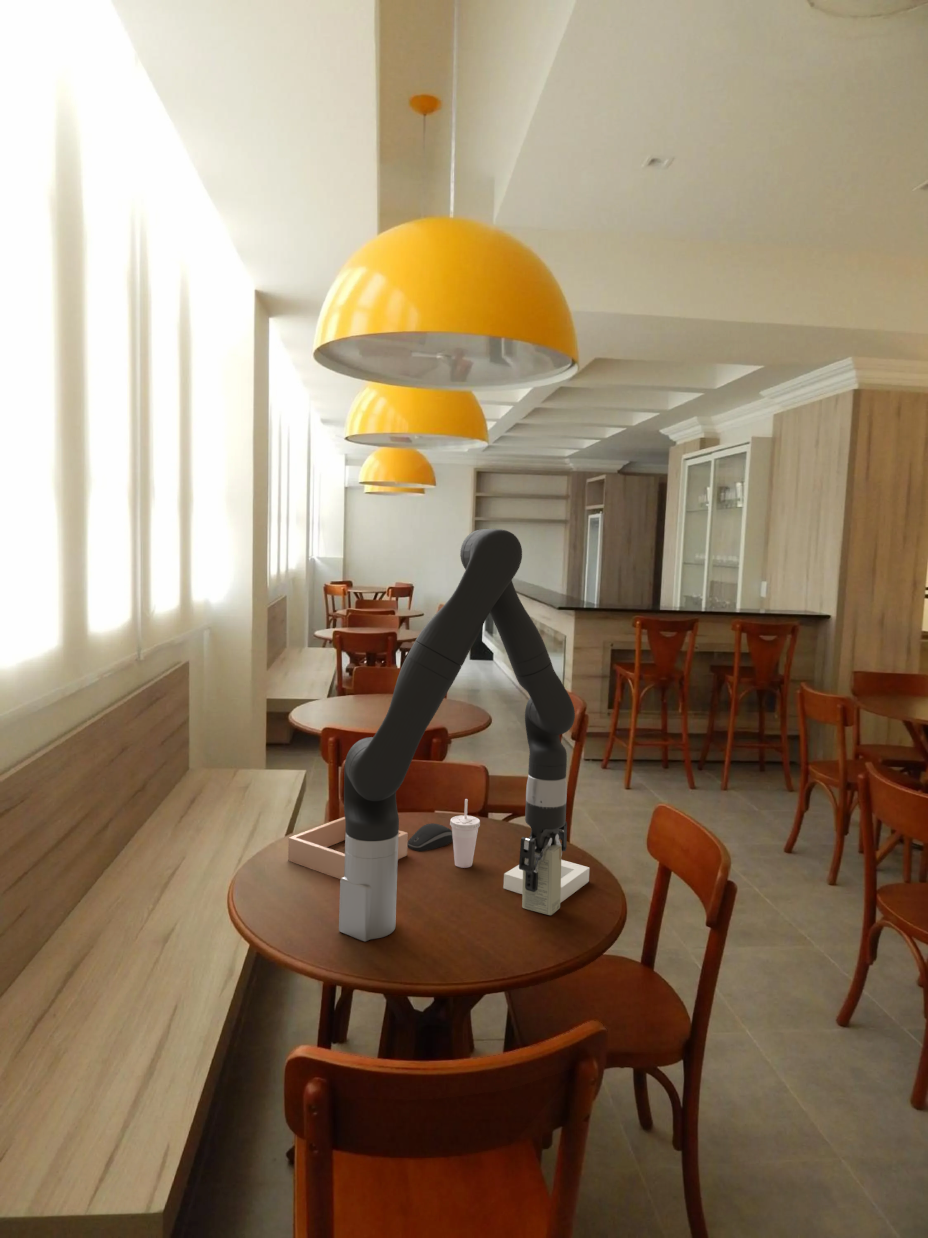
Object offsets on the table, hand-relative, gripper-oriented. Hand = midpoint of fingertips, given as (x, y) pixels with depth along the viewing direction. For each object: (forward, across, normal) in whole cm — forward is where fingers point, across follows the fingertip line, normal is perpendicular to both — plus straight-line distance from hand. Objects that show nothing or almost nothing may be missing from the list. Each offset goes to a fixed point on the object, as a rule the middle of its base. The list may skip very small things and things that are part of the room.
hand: (542, 883), depth 149 cm
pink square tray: (+5, -5, +44) cm, 45 cm away
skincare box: (+5, 0, 0) cm, 5 cm away
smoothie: (+5, +8, +23) cm, 25 cm away
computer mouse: (+5, +13, +36) cm, 39 cm away
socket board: (+5, +10, +4) cm, 12 cm away
